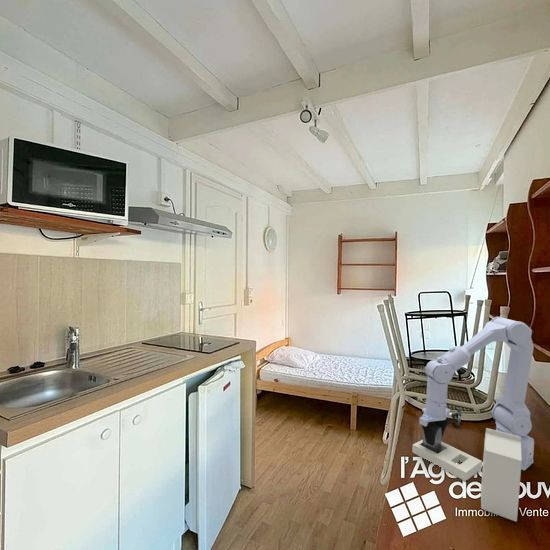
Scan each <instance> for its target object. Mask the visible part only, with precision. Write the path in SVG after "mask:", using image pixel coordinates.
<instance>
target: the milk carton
mask: <svg viewBox="0 0 550 550" xmlns="http://www.w3.org/2000/svg"><path fill="white" fill-rule="evenodd" d="M483 441H484V444H483V445H484V446H483V454H482V455H483V456H482V468H481V471H482V473H481V485H480V486H481V487H480V508H481V509H482V510H483V511H487V512H489V513H491V514H495V515H497V516H499V517H503V518H504V519H507V520H510V521H513V522H516V523H517V521H518V510H519V499H520V486H521V474H522V473H521V472H522V469H521V462H522V456H521V437H519V436H515V435H511V434H508V433H504V432H500V431H496V429H491V428H488V427H485V434H484V440H483Z"/></svg>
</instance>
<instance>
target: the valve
mask: <svg viewBox="0 0 550 550" xmlns="http://www.w3.org/2000/svg"><path fill="white" fill-rule="evenodd" d="M462 411H463V410H462V408H458V407H457V408H456V411H453V412H450V415H447V417H451V418H452V420H453V422H454V425H455V426H457V427H459V426H460V423H461V421H462V420H461V417H462V415H463V414H462ZM458 425H459V426H458Z"/></svg>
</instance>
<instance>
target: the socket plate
mask: <svg viewBox="0 0 550 550" xmlns="http://www.w3.org/2000/svg"><path fill="white" fill-rule="evenodd" d="M411 448H412V453H413V454H415V455H416V456H418V457H420V458H422V459H424V460H425V459H426V460H425V461H427V460H428V461H427V462H429V461H430V462H429V463H431V462H433V463H435V464H436V465H438V466H439V467H438V466H437V467H438V468H440V467H441V468H440V469H442V468H443V469H442V470H444V469H445V470H444V471H446V470H447V471H448V473H449V472H450V475H453V476H455V477H456V478H459V479H460V480H462V481H463V482H467V481H468V480H469V479H471V478H472V477H473V476H475V475H476V474H478V472H480V471H481V470H482V468H483V460H480V459H479V458H476V457H474V456H472V455H470V454H468V453H467V452H464V451H462V450H460V449H458V448H455V447H454V446H452V445H450V444H448V443H445V442H444V441H441V452H440V453H438V454H437V453H435V452H433V451H431V450H429V449H427V448H425V447H423V446H422V439H420V440H419V441H417V442H415V443H412V447H411ZM459 461H460V462H459ZM458 462H459V463H460V464H459V463H458ZM461 462H463V463H461ZM433 463H432V464H433ZM456 463H457V464H456ZM435 464H434V465H435ZM436 465H435V466H436ZM480 469H481V470H480ZM479 470H480V471H479ZM447 471H446V472H447ZM466 480H467V481H466Z"/></svg>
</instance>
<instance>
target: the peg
mask: <svg viewBox="0 0 550 550" xmlns="http://www.w3.org/2000/svg"><path fill="white" fill-rule="evenodd" d="M435 425H436V424H435ZM438 426H439V425H438ZM442 439H443V437H442V427H441V426H440V428H439V429H438V431H437V433H436V437H435V442H434V445H433V446H432V445H430V444H428V443H426V439H425V434H424V431H423V430H422V438H421V440H422V446H423V447H425V448H427V449H429V450H431V451H433V452H435V453H437V454H438V453H440V452H441V441H442ZM442 442H443V441H442Z"/></svg>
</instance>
